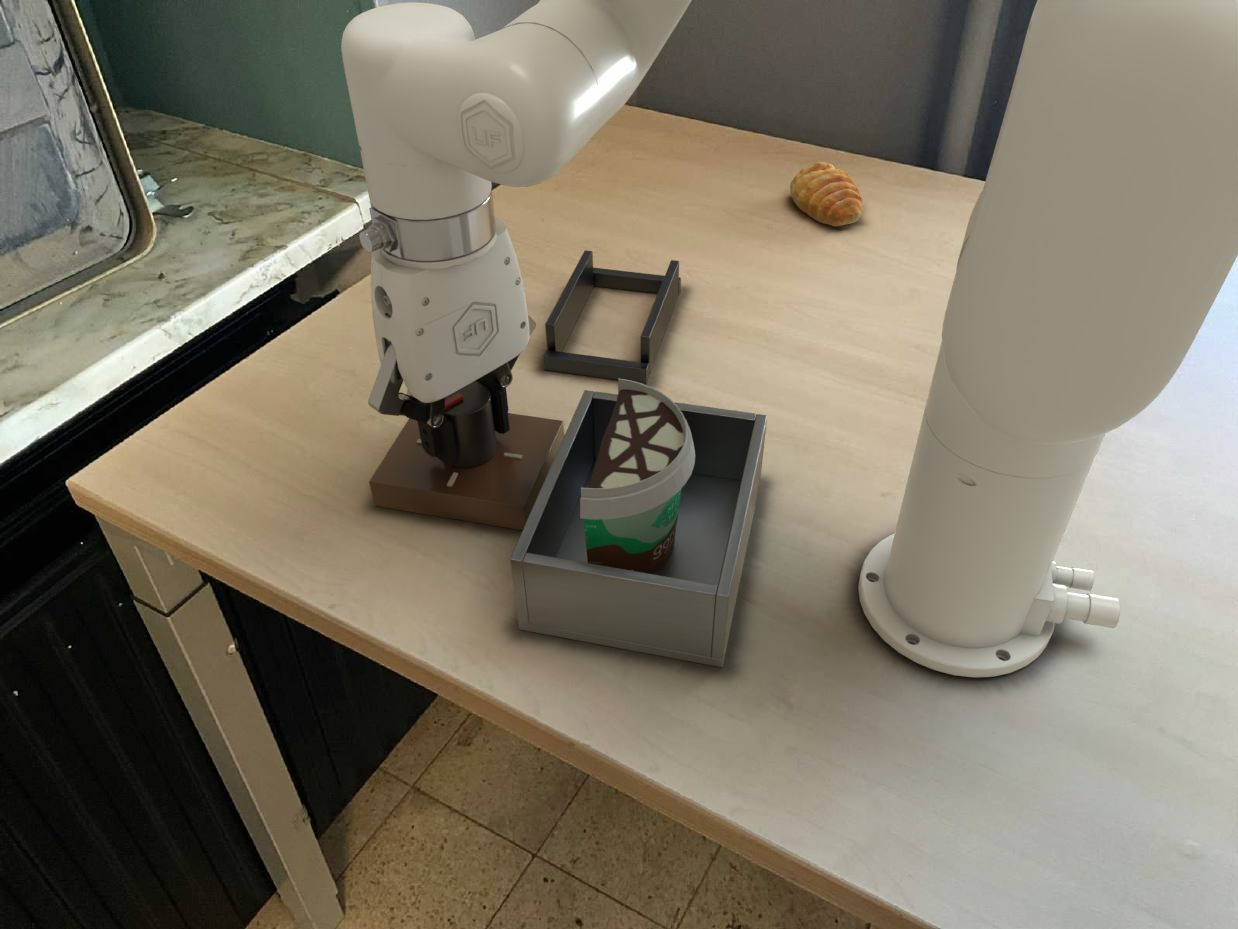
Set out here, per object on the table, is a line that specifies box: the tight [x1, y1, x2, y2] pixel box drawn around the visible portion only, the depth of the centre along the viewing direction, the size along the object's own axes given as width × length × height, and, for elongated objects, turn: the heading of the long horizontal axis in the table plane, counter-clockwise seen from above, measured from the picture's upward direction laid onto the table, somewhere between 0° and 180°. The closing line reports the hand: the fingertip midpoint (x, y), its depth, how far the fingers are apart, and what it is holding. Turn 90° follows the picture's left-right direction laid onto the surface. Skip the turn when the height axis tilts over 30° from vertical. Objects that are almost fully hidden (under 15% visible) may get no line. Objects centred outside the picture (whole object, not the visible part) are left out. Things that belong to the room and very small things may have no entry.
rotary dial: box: [368, 412, 565, 531], centre depth 76 cm, size 12×10×3 cm
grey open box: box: [509, 389, 768, 668], centre depth 69 cm, size 14×18×7 cm
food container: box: [580, 378, 695, 574], centre depth 67 cm, size 12×6×10 cm, turn 168°
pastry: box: [789, 161, 864, 228], centre depth 107 cm, size 9×7×4 cm
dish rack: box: [542, 250, 682, 385], centre depth 91 cm, size 9×15×4 cm, turn 166°
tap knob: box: [444, 381, 497, 468], centre depth 74 cm, size 4×4×5 cm
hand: (467, 438), depth 75 cm, fingers closed on tap knob, 4 cm apart
